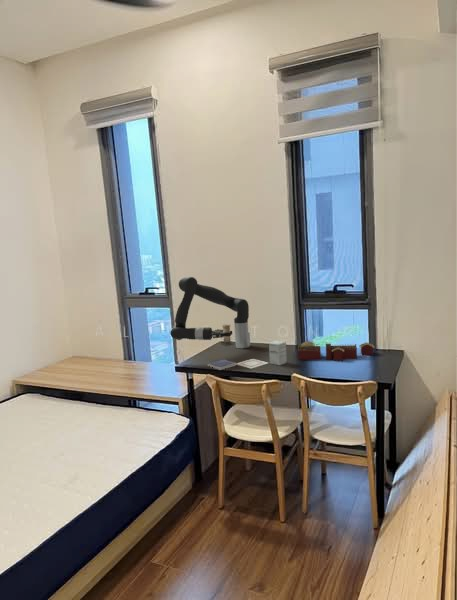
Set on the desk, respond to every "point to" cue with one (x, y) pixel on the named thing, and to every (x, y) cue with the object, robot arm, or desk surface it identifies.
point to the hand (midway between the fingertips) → (231, 333)
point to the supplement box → (277, 352)
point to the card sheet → (252, 363)
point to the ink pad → (222, 364)
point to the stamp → (226, 338)
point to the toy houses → (332, 351)
